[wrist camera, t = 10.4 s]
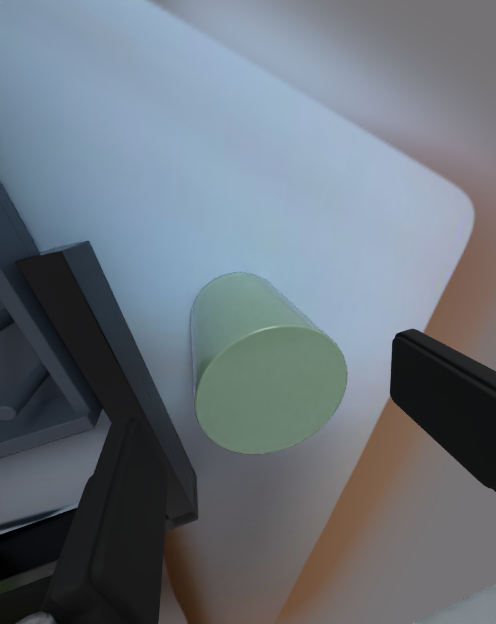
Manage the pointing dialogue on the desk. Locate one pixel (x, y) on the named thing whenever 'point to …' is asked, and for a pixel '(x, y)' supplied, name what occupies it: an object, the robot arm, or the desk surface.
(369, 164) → the desk surface
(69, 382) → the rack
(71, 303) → the rack rails
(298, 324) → the sage green cylinder
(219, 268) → the desk surface
